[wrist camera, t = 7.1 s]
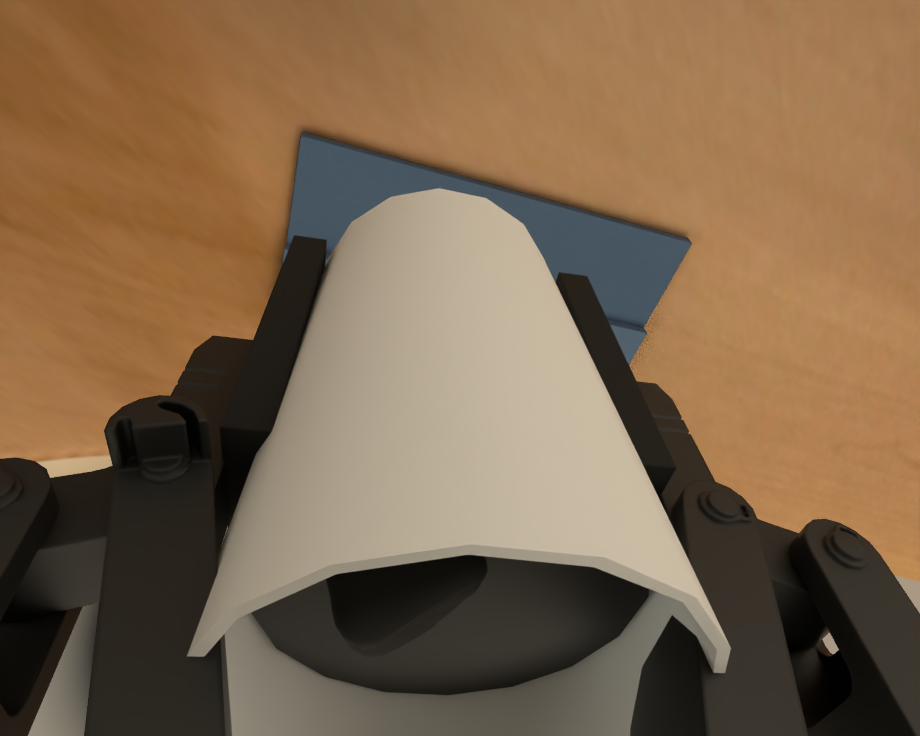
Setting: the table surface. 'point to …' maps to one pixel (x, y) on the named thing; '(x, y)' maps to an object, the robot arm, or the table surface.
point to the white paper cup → (445, 506)
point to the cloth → (549, 223)
